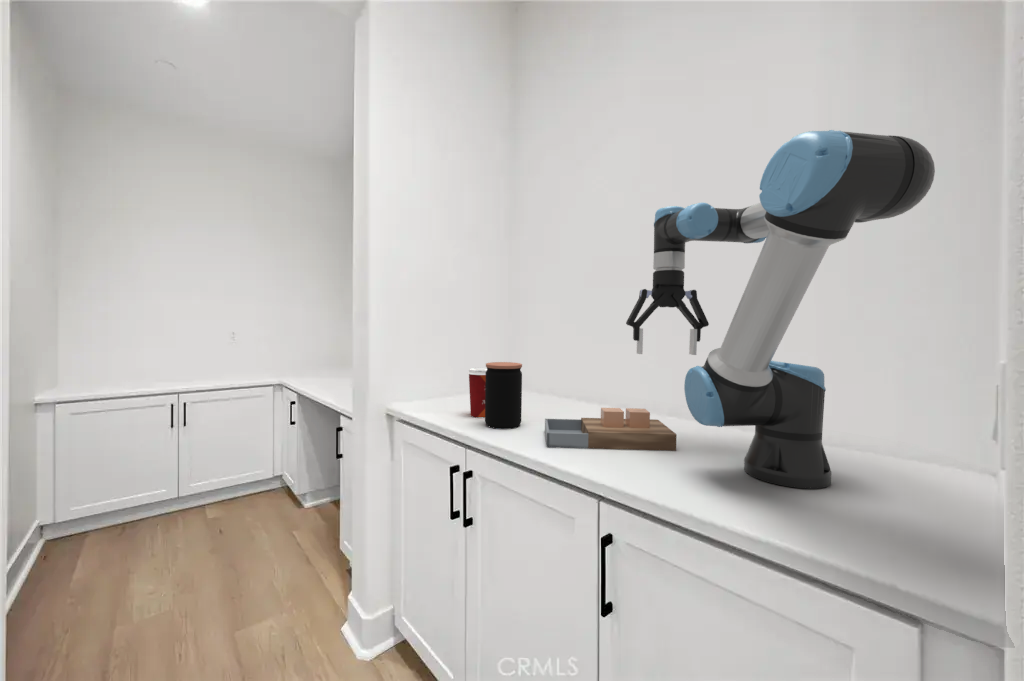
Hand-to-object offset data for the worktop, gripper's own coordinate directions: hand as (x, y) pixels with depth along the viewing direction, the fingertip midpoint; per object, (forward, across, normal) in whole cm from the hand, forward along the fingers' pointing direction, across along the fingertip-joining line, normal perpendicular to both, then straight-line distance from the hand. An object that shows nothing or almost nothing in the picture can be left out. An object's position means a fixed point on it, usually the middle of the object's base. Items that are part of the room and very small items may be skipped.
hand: (666, 354), depth 116 cm
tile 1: (+19, +13, -1) cm, 23 cm away
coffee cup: (+23, +49, -28) cm, 61 cm away
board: (+23, +10, 0) cm, 25 cm away
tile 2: (+19, +7, 0) cm, 20 cm away
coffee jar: (+23, +42, -16) cm, 50 cm away
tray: (+23, +25, -1) cm, 34 cm away
